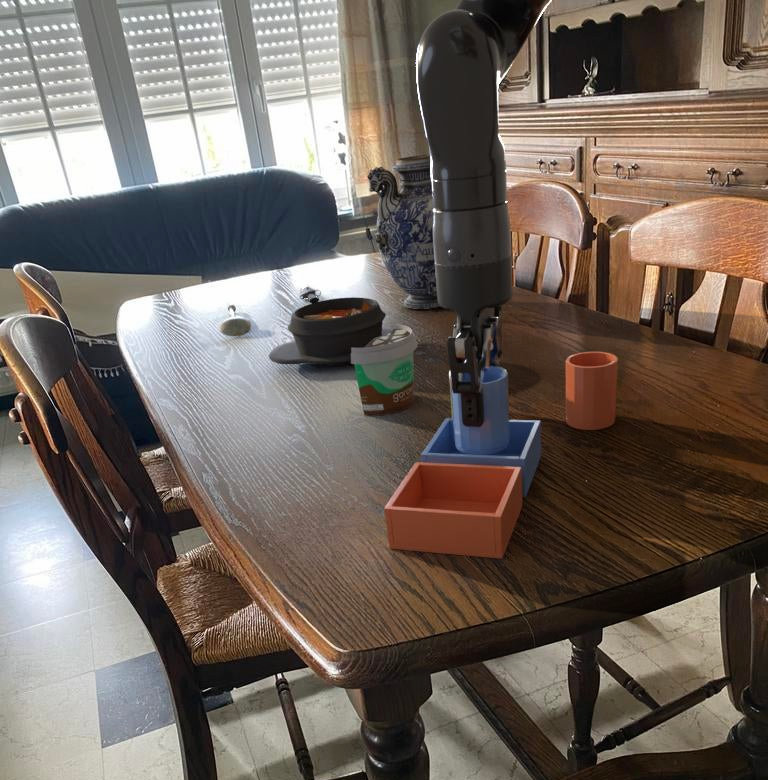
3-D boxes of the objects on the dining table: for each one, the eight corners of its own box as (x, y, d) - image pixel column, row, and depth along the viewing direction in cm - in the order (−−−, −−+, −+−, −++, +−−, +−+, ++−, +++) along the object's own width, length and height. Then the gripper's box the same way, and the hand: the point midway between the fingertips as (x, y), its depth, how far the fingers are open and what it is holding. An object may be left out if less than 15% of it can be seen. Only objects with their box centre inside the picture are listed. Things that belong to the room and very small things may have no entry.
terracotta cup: (617, 412, 96) (619, 351, 92) (613, 430, 91) (615, 367, 87) (569, 411, 98) (569, 351, 94) (562, 429, 93) (563, 367, 89)
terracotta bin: (522, 505, 77) (521, 466, 75) (502, 559, 69) (500, 517, 67) (419, 499, 81) (415, 461, 79) (389, 548, 73) (383, 508, 71)
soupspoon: (221, 342, 151) (253, 338, 152) (218, 325, 149) (251, 322, 150) (218, 313, 169) (247, 310, 170) (215, 298, 168) (245, 295, 169)
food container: (397, 423, 101) (389, 351, 96) (358, 419, 104) (349, 349, 99) (436, 391, 110) (431, 323, 105) (400, 388, 113) (393, 322, 108)
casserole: (402, 331, 140) (398, 286, 136) (421, 360, 124) (416, 309, 120) (270, 352, 138) (261, 306, 134) (271, 383, 122) (261, 333, 118)
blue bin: (541, 456, 87) (540, 420, 85) (525, 497, 79) (524, 459, 77) (448, 452, 91) (445, 417, 89) (424, 491, 83) (420, 454, 81)
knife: (292, 284, 186) (311, 279, 187) (294, 291, 187) (313, 286, 188) (302, 299, 164) (324, 293, 165) (304, 307, 165) (326, 301, 166)
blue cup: (514, 433, 84) (512, 365, 81) (503, 456, 80) (500, 385, 76) (462, 431, 87) (458, 365, 83) (449, 453, 82) (443, 384, 78)
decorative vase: (401, 323, 145) (385, 165, 132) (365, 306, 161) (347, 163, 147) (496, 300, 152) (490, 148, 138) (453, 286, 167) (443, 148, 153)
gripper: (494, 269, 66) (501, 442, 74) (524, 237, 78) (527, 390, 86) (414, 272, 69) (429, 439, 77) (454, 241, 80) (463, 389, 88)
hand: (480, 412), depth 81 cm, fingers closed on blue cup, 6 cm apart
